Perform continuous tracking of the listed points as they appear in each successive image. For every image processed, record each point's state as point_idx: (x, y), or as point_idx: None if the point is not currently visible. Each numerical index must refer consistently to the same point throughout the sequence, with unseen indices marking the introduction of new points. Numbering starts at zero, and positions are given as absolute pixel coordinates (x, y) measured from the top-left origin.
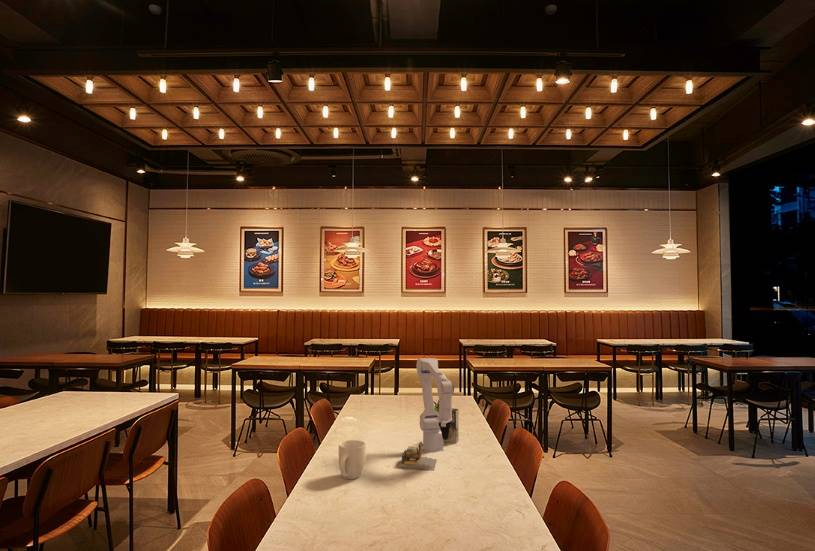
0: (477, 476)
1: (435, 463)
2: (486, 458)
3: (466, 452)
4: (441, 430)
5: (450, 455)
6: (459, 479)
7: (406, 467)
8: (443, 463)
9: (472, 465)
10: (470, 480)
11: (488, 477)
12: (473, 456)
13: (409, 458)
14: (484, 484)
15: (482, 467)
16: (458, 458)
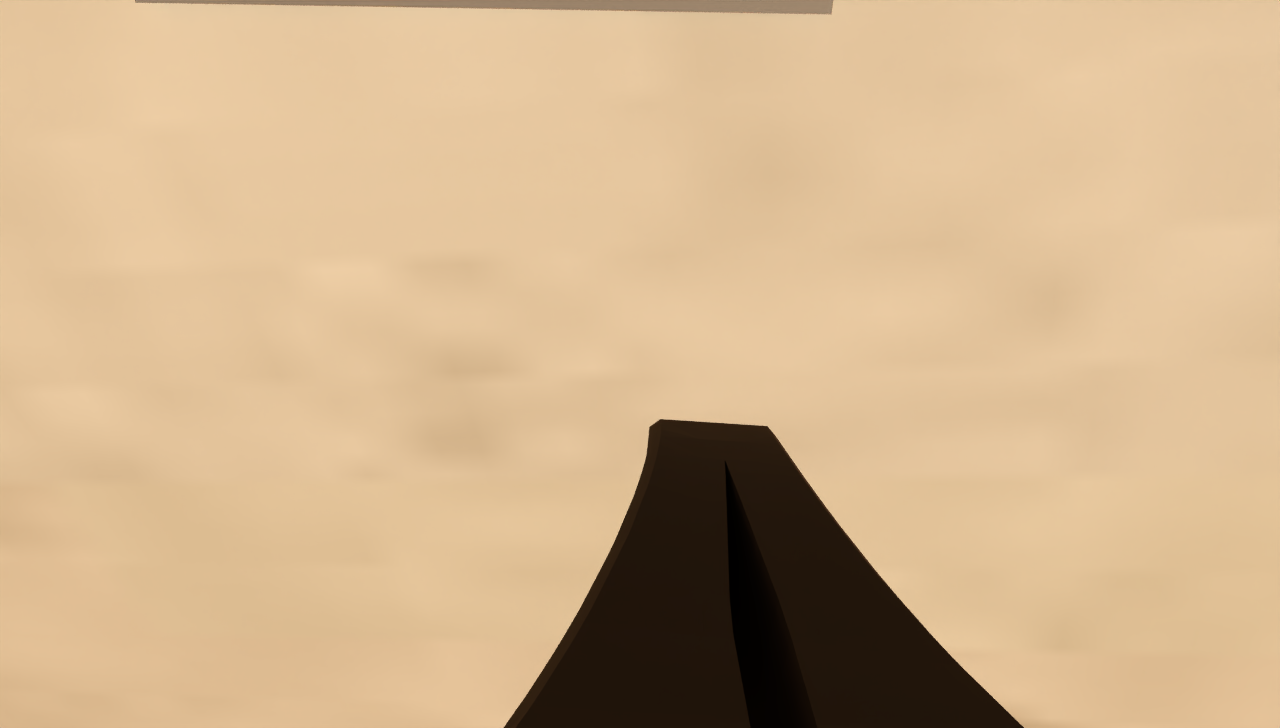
0: (246, 615)
1: (555, 2)
2: None
3: (1214, 508)
4: (516, 718)
5: (1095, 274)
6: (18, 432)
7: None
8: (636, 167)
9: None
10: (67, 549)
11: (270, 702)
12: (1010, 587)
13: None
14: (37, 666)
15: None
16: (923, 404)
